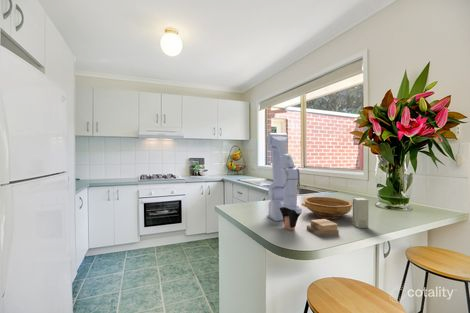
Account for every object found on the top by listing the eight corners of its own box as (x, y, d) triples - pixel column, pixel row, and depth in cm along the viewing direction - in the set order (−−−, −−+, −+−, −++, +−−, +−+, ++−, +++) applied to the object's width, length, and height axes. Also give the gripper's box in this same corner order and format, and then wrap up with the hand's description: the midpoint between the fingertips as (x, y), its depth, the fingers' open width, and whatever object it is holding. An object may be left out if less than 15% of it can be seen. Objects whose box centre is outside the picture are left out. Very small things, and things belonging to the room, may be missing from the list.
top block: (310, 225, 96) (310, 220, 96) (324, 224, 98) (325, 218, 98) (322, 231, 89) (322, 225, 89) (337, 230, 91) (337, 224, 91)
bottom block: (306, 231, 97) (306, 225, 97) (323, 229, 100) (323, 223, 100) (320, 238, 88) (320, 232, 88) (338, 236, 91) (338, 230, 91)
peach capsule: (282, 227, 99) (282, 216, 99) (291, 226, 101) (291, 215, 101) (288, 230, 95) (288, 219, 95) (296, 229, 97) (296, 218, 96)
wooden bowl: (315, 224, 104) (316, 207, 104) (291, 211, 128) (291, 197, 128) (368, 220, 111) (368, 205, 111) (335, 208, 134) (336, 195, 134)
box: (362, 224, 104) (363, 197, 104) (368, 228, 100) (369, 199, 100) (351, 224, 104) (352, 197, 104) (357, 228, 100) (357, 199, 99)
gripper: (274, 192, 103) (273, 221, 104) (291, 198, 90) (290, 231, 90) (287, 191, 106) (286, 220, 106) (306, 197, 92) (305, 230, 92)
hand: (289, 225), depth 98 cm, fingers closed on peach capsule, 4 cm apart
